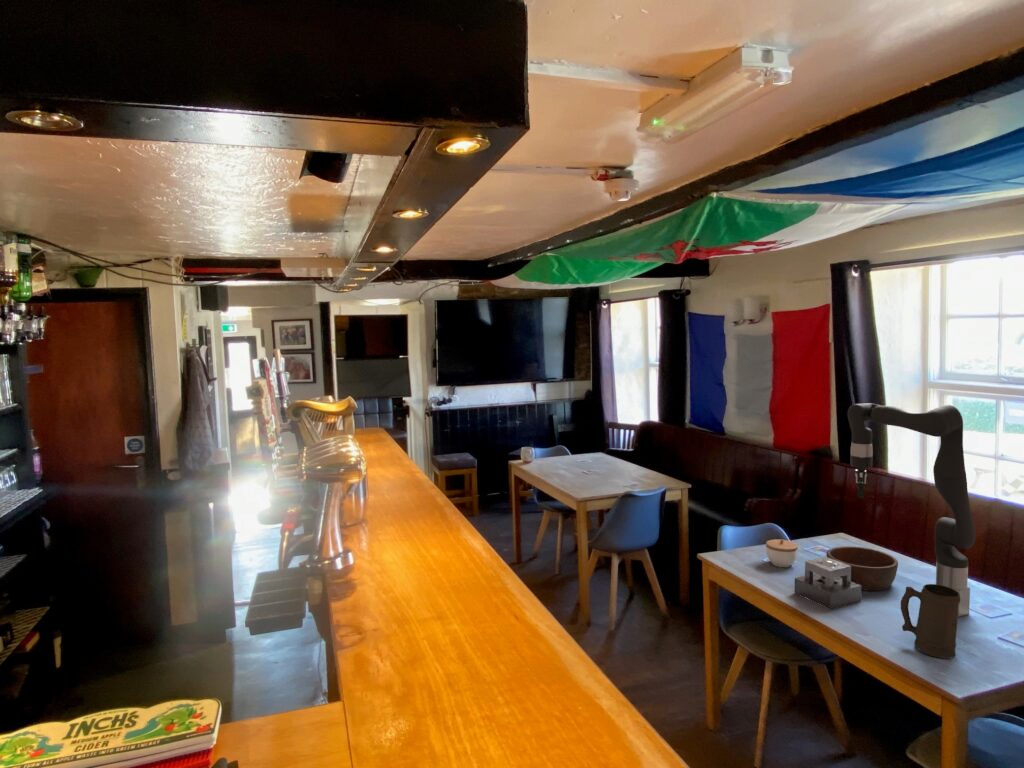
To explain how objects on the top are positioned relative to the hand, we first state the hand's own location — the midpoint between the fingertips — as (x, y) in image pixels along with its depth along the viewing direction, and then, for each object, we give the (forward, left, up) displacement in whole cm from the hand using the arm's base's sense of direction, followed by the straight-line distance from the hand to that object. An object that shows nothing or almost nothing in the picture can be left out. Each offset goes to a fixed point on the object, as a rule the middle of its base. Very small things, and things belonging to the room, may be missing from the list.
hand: (860, 495), depth 243 cm
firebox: (-3, +21, -36) cm, 42 cm away
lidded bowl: (+29, +10, -36) cm, 48 cm away
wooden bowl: (+2, -4, -36) cm, 37 cm away
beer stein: (-44, +26, -36) cm, 63 cm away
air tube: (-3, +21, -36) cm, 42 cm away
